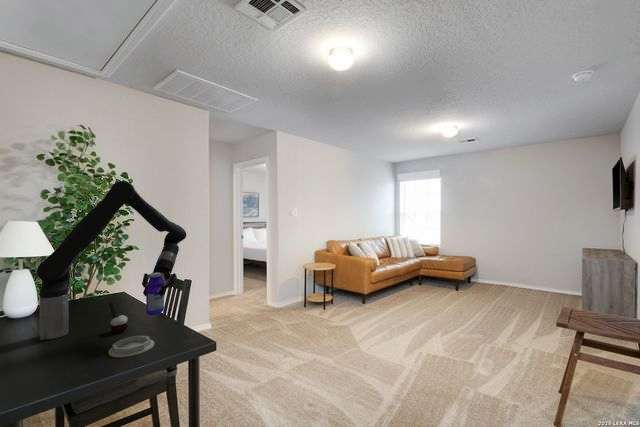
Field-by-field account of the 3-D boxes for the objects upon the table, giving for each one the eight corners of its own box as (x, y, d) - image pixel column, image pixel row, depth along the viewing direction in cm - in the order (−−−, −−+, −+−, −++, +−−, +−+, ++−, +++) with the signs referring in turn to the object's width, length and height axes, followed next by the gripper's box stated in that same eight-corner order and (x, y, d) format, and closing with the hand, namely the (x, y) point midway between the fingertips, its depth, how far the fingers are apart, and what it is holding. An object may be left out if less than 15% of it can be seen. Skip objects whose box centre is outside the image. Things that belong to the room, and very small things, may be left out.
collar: (112, 361, 107) (112, 354, 107) (105, 348, 118) (105, 341, 118) (159, 348, 117) (159, 342, 117) (148, 336, 128) (148, 331, 128)
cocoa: (130, 332, 134) (131, 305, 134) (113, 336, 130) (115, 308, 129) (122, 326, 140) (123, 300, 140) (106, 329, 135) (107, 302, 135)
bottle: (154, 316, 128) (155, 275, 128) (143, 315, 130) (143, 274, 129) (166, 310, 136) (167, 272, 135) (155, 309, 137) (155, 271, 137)
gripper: (146, 258, 139) (132, 290, 127) (179, 258, 140) (167, 290, 128) (152, 267, 145) (139, 299, 133) (183, 267, 146) (172, 299, 134)
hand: (153, 295), depth 131 cm, fingers closed on bottle, 6 cm apart
